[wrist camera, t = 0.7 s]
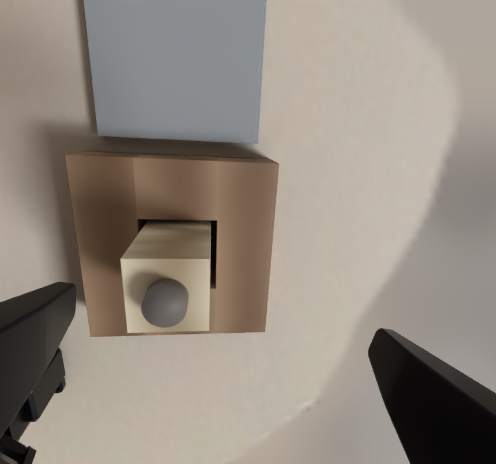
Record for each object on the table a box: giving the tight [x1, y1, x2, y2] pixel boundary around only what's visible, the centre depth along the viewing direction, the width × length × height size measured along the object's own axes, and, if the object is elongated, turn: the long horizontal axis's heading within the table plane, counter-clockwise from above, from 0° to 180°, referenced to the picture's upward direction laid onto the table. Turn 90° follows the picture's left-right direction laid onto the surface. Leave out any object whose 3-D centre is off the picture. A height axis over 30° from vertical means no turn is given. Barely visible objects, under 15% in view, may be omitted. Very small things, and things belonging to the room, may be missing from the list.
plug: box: [121, 219, 211, 333], centre depth 18 cm, size 4×4×9 cm
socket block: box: [65, 151, 279, 337], centre depth 20 cm, size 12×12×3 cm
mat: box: [84, 0, 266, 144], centre depth 18 cm, size 10×10×1 cm
